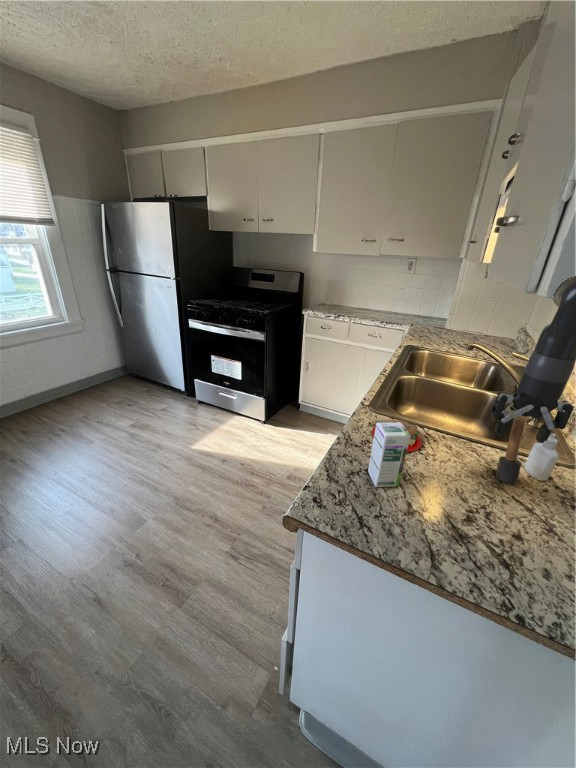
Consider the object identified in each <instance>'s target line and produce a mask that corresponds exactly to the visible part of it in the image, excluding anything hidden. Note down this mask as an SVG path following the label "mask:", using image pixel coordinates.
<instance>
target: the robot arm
mask: <svg viewBox="0 0 576 768" xmlns="http://www.w3.org/2000/svg"><path fill="white" fill-rule="evenodd" d="M553 296H554V298H556V299H552V301H553V303H554V305H555V306H556V307H558V308H557V310H556V312H555V314H554V316H553V318H552V320H551V322H550V323H549V324H547V325H545V326H544V327H543V329H542V330H541V332H540V334H539V336H538V339H537V341H536V344H535V346H534V349H533V351H532V353H531V354H530V356H529V358H528V360H527V362H526V365H525V366H524V370H523V372H522V375H521V377H520V380H519V383H518V385H517V388H516V391H515V393H513V394H506V393H505V392H504V391H498V393H497V396H496V398H495V400H494V402H493V405H492V407H491V409H490V414H491V416H492V417H493V419H494V420H496V422H495V424H494V426H493V430H494V432H495V434H496V436H498V437H503V435H504V432H505V430H506V427H507V425H508V422H509V421H511V420H514V418H517V419H518V418H519V417H520V416H522V417H526V418H527V417H529V418H530V417H531V418H534V419H539V418H540V419H541V421H542V423H543V424H541V425H540V426H539V429H538V431H537V433H536V435H535V440H536V442H537V443H544V441H546V440H548V437H549V436H551V434H552V431H554V430H557V429H559V430H565V429H566V428H567V425H568V423H569V420H570V418H571V416H572V413H573V411H574V409H575V407H574V405H572V404H571V403H570V402H569V401H568V400H562V401H559V399H561V398H562V395H563V392H564V391H565V388H566V387H567V384H568V382H569V380H570V378H571V375H572V374H573V371H574V368H575V365H576V276H574V277H571V278H568V279H567V280H565V281H564V282H562V283H561V284H560V286H558V288H557V289H556V291H555V293H554V294H553ZM510 402H512V403H511V404H510V405H508V404H509V403H510ZM506 405H508V406H507V407H506ZM504 408H505V409H504ZM554 410H557V412H556V414H555V416H554V419H552V417H551V414H550V413H551V412H552V411H554Z"/></svg>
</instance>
